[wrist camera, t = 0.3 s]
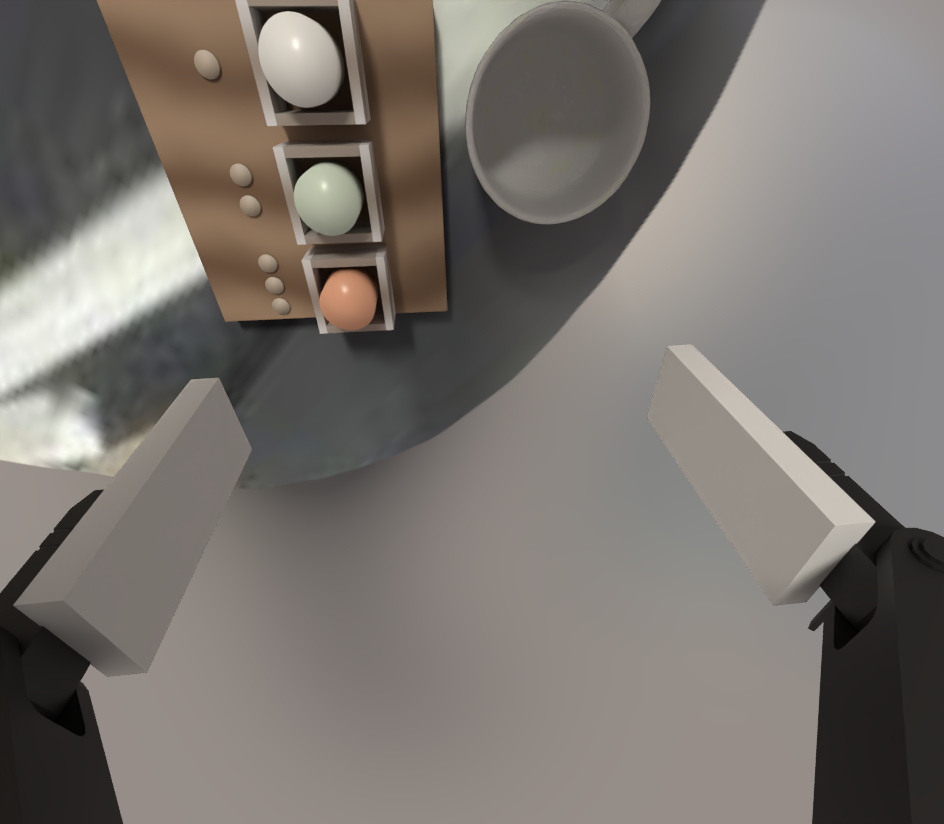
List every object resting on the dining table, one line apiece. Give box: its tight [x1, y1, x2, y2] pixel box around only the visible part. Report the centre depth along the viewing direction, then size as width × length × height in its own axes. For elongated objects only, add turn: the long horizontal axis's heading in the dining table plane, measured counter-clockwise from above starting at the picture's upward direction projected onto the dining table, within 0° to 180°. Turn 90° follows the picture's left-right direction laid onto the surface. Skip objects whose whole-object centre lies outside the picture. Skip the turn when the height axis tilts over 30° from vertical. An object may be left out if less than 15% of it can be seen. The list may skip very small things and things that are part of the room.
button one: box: [258, 11, 345, 108], centre depth 24 cm, size 4×4×3 cm
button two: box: [294, 160, 364, 236], centre depth 29 cm, size 4×4×3 cm
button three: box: [319, 266, 378, 330], centre depth 33 cm, size 4×4×3 cm
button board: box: [97, 0, 447, 334], centre depth 30 cm, size 20×19×5 cm
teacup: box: [465, 0, 661, 224], centre depth 27 cm, size 14×11×8 cm
